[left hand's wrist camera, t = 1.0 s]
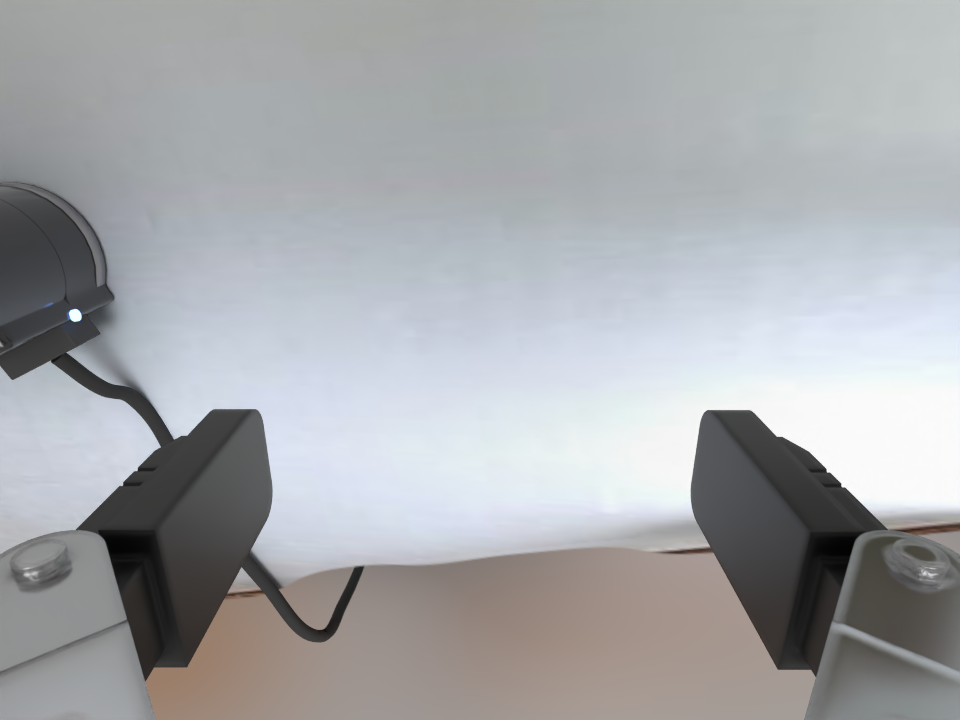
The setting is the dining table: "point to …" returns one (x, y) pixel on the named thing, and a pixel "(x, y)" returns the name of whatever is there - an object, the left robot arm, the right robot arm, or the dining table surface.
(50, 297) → the right robot arm
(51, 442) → the dining table surface
